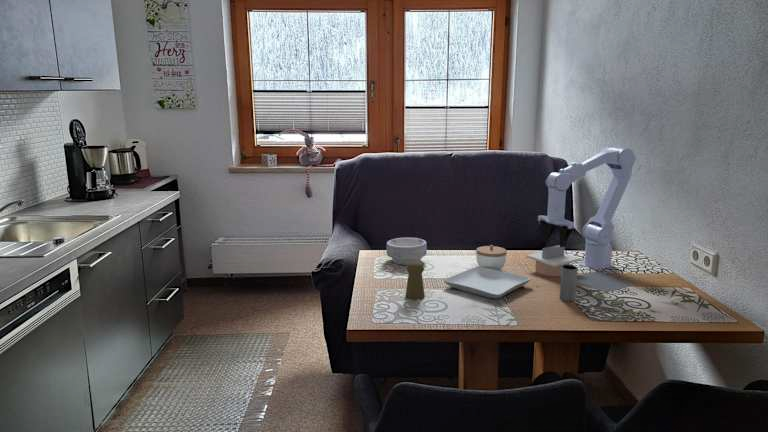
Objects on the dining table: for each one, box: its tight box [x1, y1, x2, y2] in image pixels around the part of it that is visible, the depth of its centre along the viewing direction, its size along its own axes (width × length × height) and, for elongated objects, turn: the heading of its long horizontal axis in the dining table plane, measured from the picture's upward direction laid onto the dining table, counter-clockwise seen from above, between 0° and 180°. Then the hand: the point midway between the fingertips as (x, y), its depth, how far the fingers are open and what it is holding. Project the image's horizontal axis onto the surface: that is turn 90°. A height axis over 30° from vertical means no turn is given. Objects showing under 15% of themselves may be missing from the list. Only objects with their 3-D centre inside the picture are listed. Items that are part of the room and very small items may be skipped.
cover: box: [525, 244, 582, 266], centre depth 191 cm, size 13×13×4 cm
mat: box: [576, 270, 637, 293], centre depth 182 cm, size 16×16×1 cm
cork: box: [404, 261, 425, 301], centre depth 168 cm, size 6×6×11 cm
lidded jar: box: [475, 244, 507, 271], centre depth 194 cm, size 11×11×9 cm
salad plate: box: [443, 265, 532, 299], centre depth 177 cm, size 21×21×3 cm
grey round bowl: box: [386, 237, 428, 266], centre depth 205 cm, size 15×15×8 cm
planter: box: [559, 264, 578, 302], centre depth 166 cm, size 4×4×10 cm
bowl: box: [535, 260, 570, 277], centre depth 192 cm, size 11×11×5 cm
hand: (554, 244), depth 193 cm, fingers open, 7 cm apart
